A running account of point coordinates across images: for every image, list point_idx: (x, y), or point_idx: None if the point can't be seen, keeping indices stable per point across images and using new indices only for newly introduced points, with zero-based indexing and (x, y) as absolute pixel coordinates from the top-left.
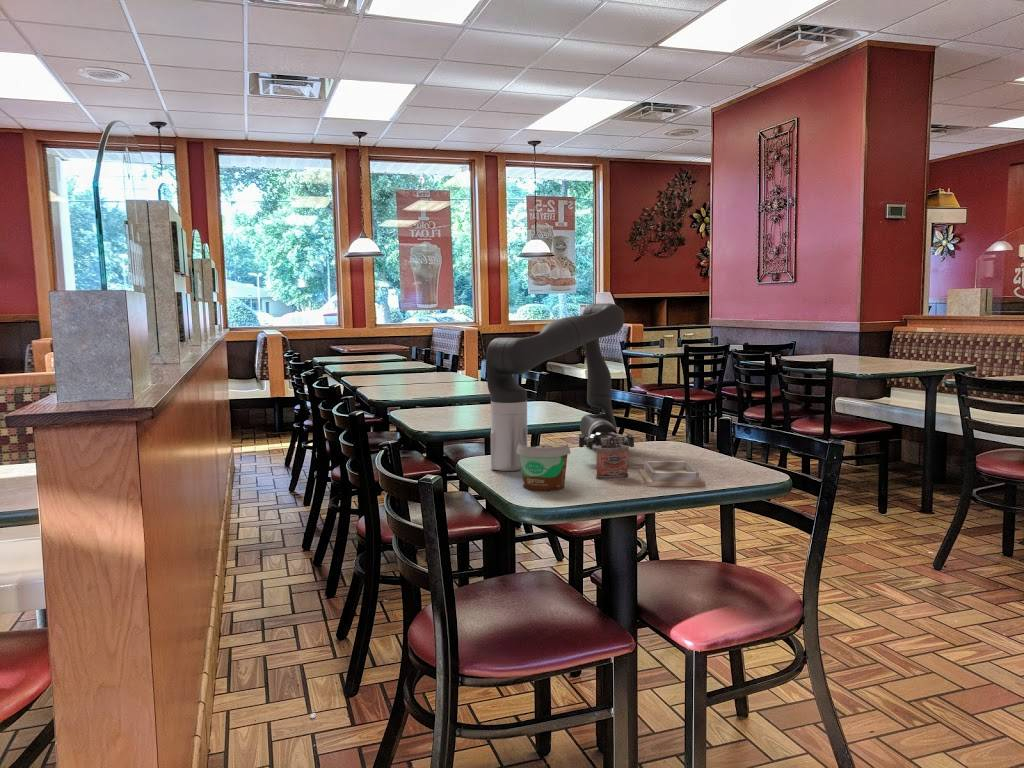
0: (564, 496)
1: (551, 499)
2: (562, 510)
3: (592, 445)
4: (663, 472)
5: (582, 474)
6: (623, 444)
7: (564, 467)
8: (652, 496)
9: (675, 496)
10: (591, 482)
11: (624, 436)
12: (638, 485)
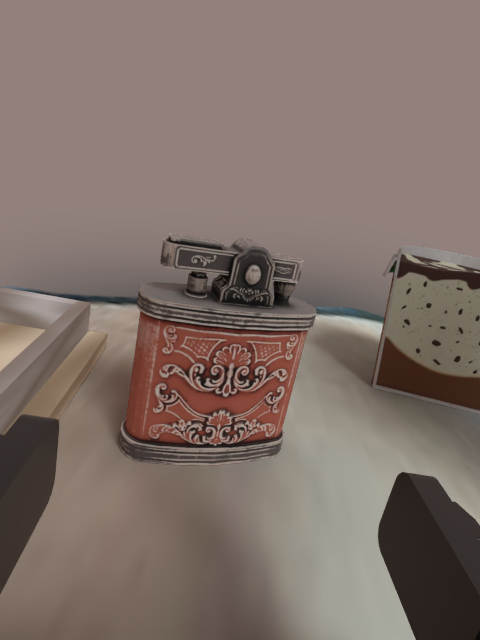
0: (345, 343)
1: (366, 338)
2: (326, 307)
3: (388, 500)
4: (46, 297)
5: (360, 522)
6: (40, 479)
7: (384, 318)
8: (135, 306)
9: (78, 296)
10: (293, 409)
11: (170, 234)
12: (130, 358)
